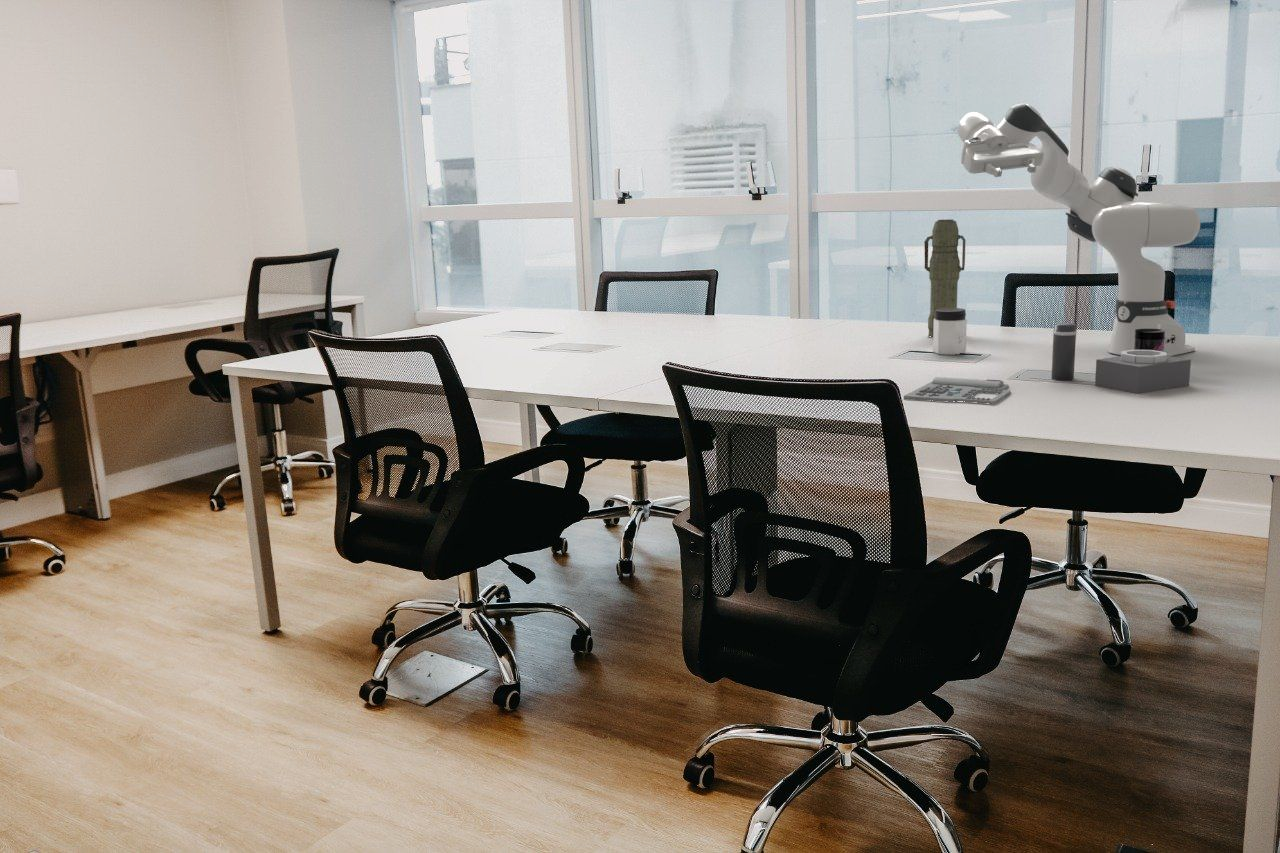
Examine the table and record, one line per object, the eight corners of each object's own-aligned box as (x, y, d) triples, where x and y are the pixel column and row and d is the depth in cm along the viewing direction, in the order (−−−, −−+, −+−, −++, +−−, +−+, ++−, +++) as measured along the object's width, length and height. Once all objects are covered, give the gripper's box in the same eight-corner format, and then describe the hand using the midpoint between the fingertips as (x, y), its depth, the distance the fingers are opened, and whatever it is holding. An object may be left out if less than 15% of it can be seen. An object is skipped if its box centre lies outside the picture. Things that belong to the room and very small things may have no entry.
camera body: (1145, 377, 260) (1147, 346, 258) (1188, 385, 249) (1191, 352, 247) (1095, 385, 254) (1096, 353, 252) (1137, 393, 243) (1139, 360, 241)
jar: (949, 356, 299) (950, 312, 297) (927, 352, 306) (927, 310, 303) (971, 352, 304) (973, 309, 301) (948, 349, 311) (949, 307, 308)
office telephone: (935, 373, 265) (1020, 378, 255) (935, 384, 266) (1019, 389, 255) (903, 389, 246) (994, 396, 236) (903, 401, 247) (993, 408, 236)
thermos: (922, 334, 340) (925, 219, 332) (962, 334, 337) (965, 218, 329) (922, 338, 332) (924, 221, 324) (963, 338, 329) (966, 220, 321)
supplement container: (1134, 375, 263) (1136, 332, 261) (1130, 370, 269) (1132, 328, 267) (1164, 376, 261) (1167, 332, 259) (1160, 371, 267) (1163, 328, 265)
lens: (1062, 376, 266) (1065, 322, 263) (1079, 379, 261) (1081, 324, 258) (1046, 378, 264) (1048, 324, 261) (1062, 381, 259) (1065, 326, 256)
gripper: (1027, 154, 294) (1051, 178, 283) (955, 163, 291) (977, 188, 281) (1032, 132, 290) (1057, 156, 279) (959, 141, 287) (981, 165, 277)
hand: (1016, 172), depth 280 cm, fingers open, 8 cm apart
